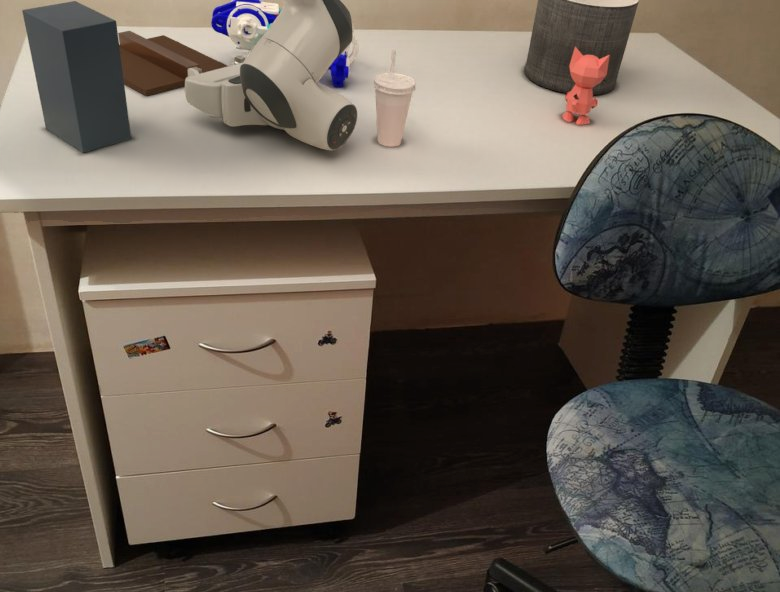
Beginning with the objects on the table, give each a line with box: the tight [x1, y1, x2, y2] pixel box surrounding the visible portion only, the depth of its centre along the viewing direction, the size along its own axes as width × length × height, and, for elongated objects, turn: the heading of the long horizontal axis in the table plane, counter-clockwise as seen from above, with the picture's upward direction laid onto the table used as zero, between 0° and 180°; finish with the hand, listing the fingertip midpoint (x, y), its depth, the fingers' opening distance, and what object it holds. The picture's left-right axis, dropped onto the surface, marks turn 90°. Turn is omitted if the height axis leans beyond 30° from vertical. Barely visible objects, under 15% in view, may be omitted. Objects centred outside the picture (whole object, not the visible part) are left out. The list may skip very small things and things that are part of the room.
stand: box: [21, 0, 132, 154], centre depth 114 cm, size 8×10×17 cm
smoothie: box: [372, 49, 416, 148], centre depth 122 cm, size 6×6×14 cm
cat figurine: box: [561, 47, 610, 126], centre depth 136 cm, size 7×7×12 cm
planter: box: [523, 0, 640, 96], centre depth 151 cm, size 18×18×16 cm
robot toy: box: [210, 0, 359, 88], centre depth 141 cm, size 16×12×25 cm
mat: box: [119, 34, 229, 97], centre depth 141 cm, size 18×20×1 cm
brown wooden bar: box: [118, 30, 199, 80], centre depth 140 cm, size 2×20×2 cm, turn 47°
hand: (215, 66), depth 131 cm, fingers open, 8 cm apart
